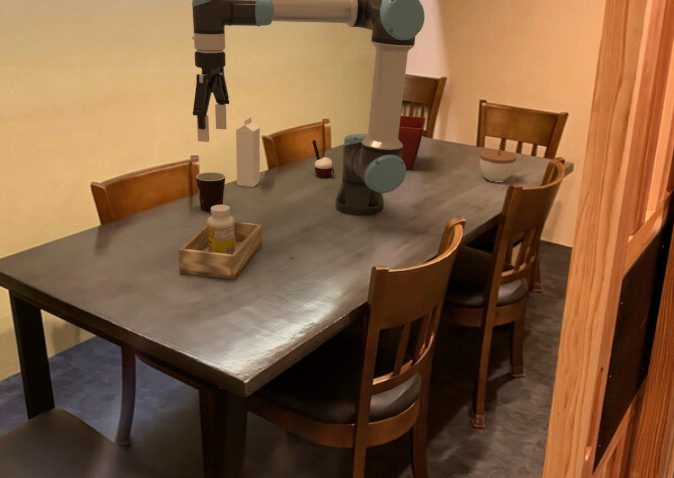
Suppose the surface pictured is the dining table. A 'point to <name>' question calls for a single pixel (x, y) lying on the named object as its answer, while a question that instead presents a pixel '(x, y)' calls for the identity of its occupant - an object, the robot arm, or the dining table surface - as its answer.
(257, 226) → the walled box
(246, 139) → the milk
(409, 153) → the plant pot
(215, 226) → the supplement bottle
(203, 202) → the coffee mug
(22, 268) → the dining table surface
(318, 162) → the cocoa
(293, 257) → the dining table surface
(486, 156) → the lidded bowl
